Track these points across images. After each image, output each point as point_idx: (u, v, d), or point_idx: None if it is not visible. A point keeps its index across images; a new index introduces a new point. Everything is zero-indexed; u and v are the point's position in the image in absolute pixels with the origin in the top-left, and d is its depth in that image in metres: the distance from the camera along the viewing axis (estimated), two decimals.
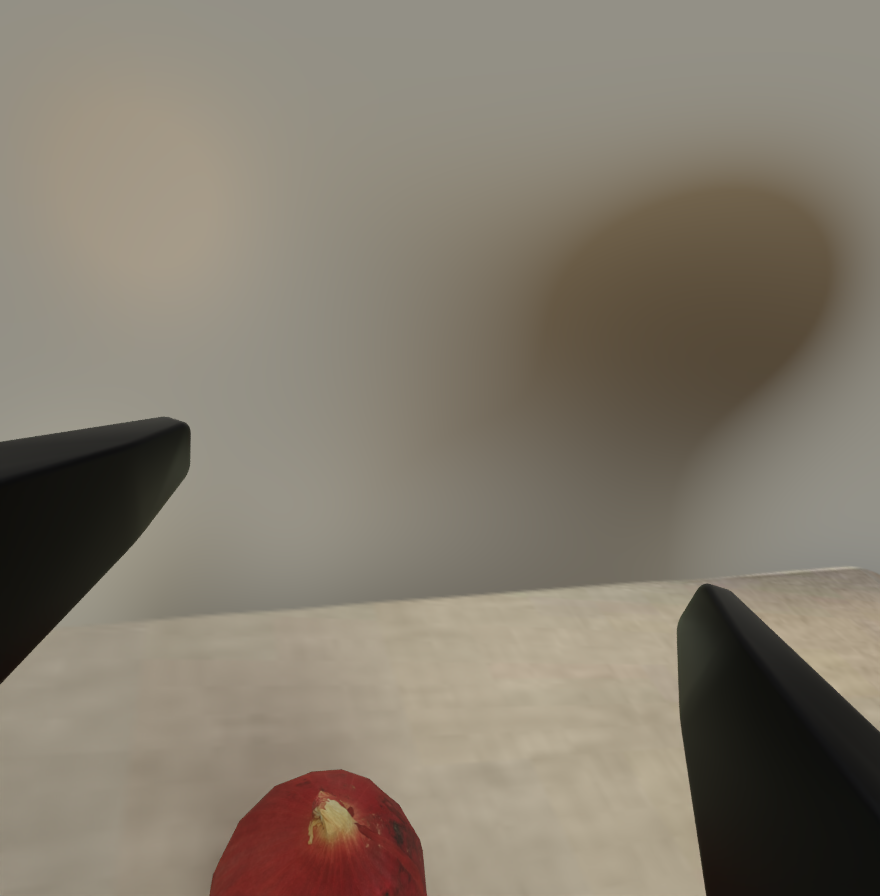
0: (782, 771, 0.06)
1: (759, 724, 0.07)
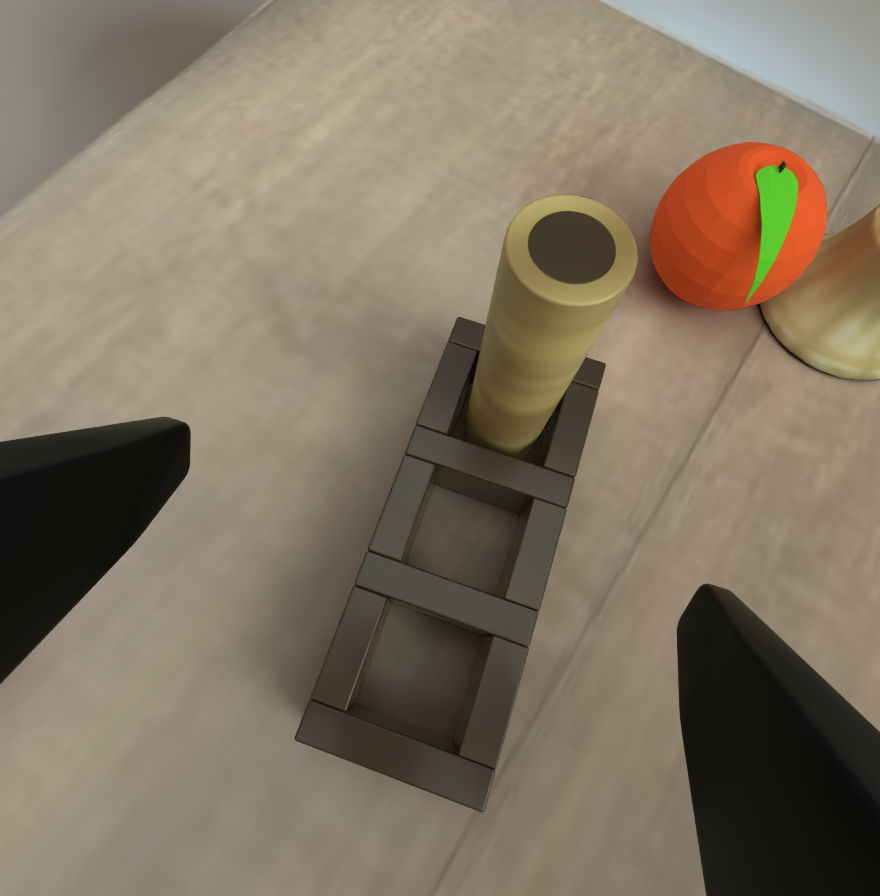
0: (781, 771, 0.06)
1: (759, 724, 0.07)
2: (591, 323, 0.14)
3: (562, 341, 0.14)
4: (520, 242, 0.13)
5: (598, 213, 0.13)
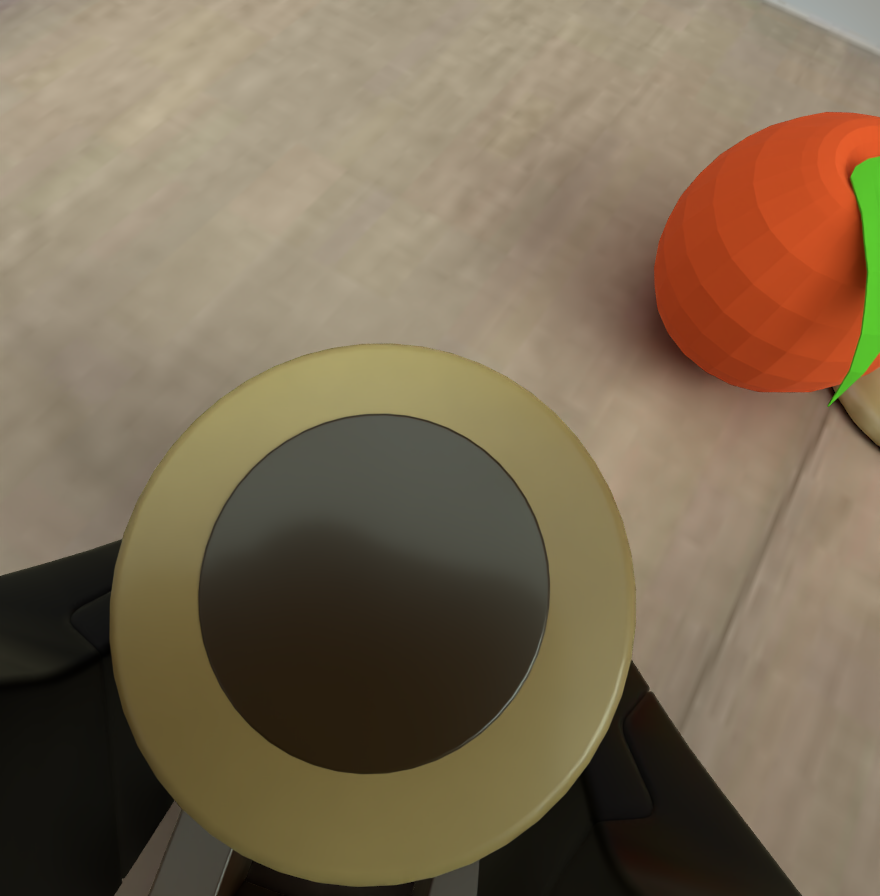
0: None
1: None
2: None
3: None
4: (171, 569, 0.03)
5: (487, 417, 0.04)
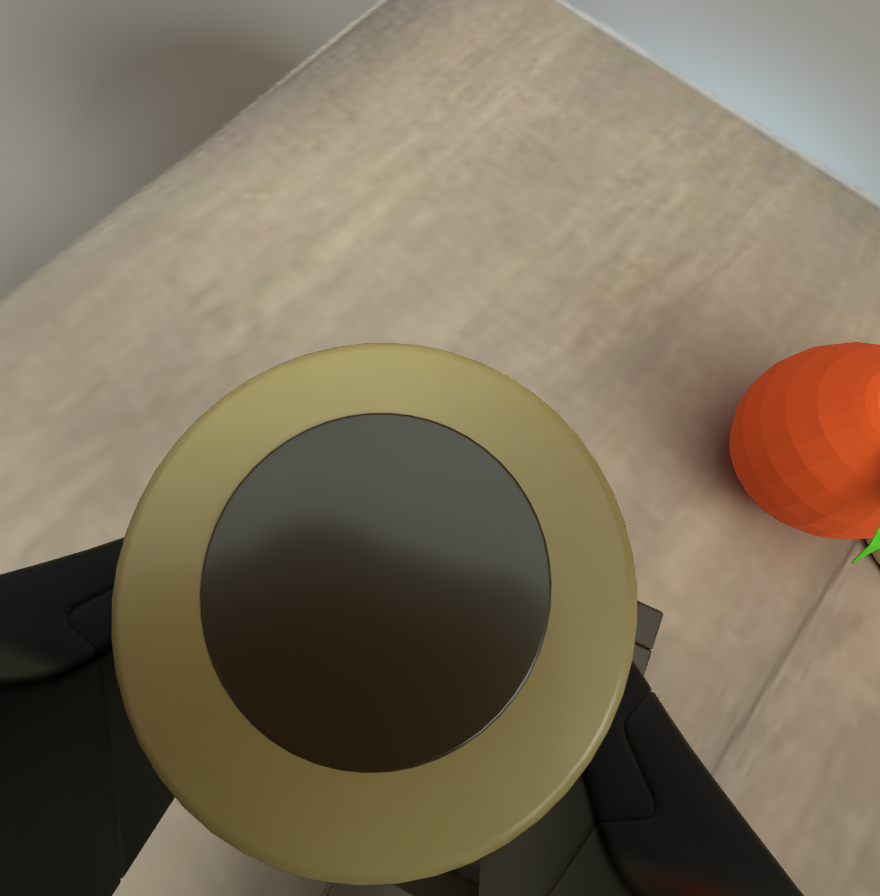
0: None
1: None
2: None
3: None
4: (173, 568, 0.03)
5: (490, 416, 0.04)
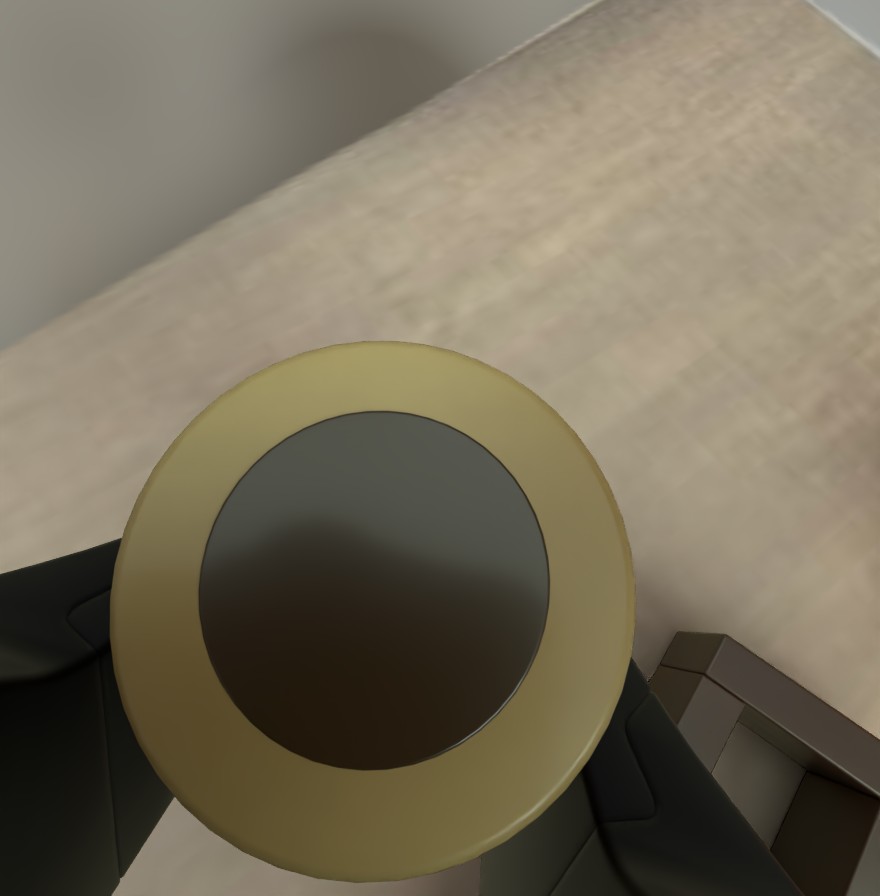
0: None
1: None
2: None
3: None
4: (171, 565, 0.03)
5: (487, 414, 0.04)
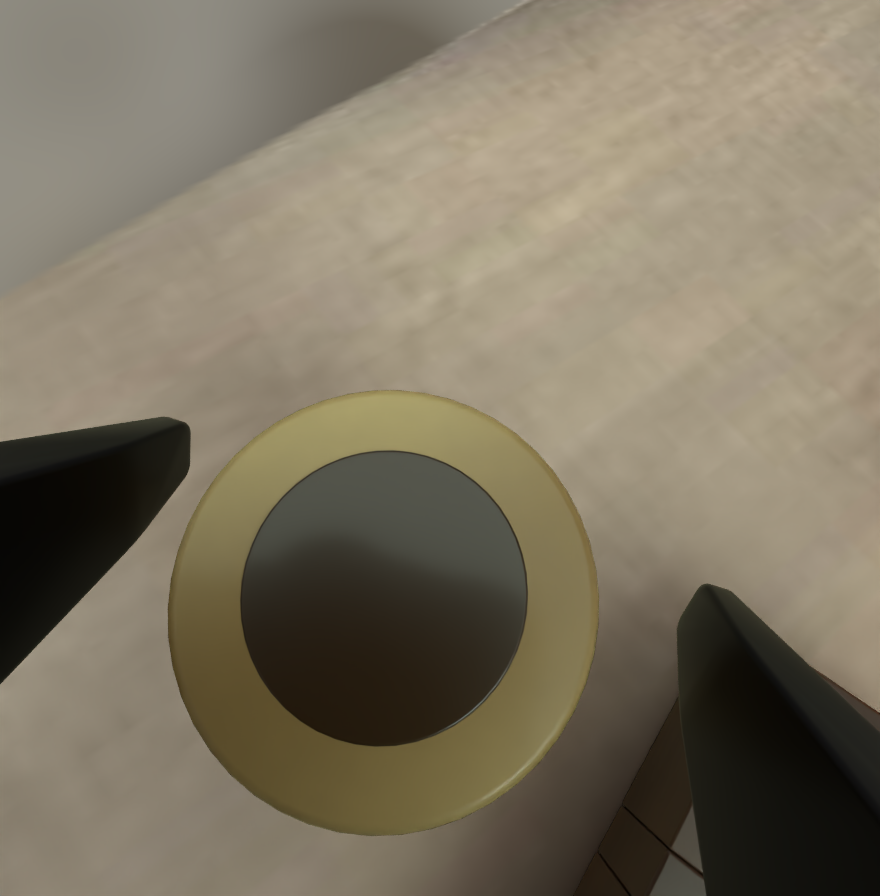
0: (782, 770, 0.06)
1: (759, 724, 0.07)
2: None
3: None
4: (217, 580, 0.04)
5: (478, 454, 0.04)
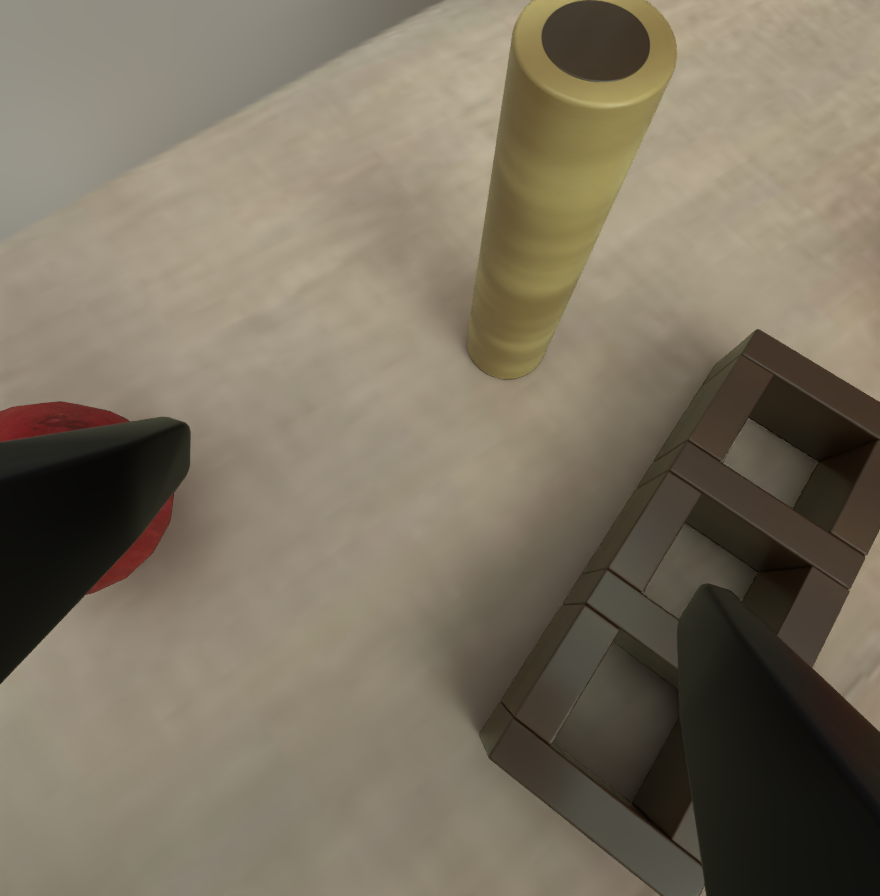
0: (782, 771, 0.06)
1: (759, 724, 0.07)
2: (619, 143, 0.11)
3: (584, 172, 0.12)
4: (532, 36, 0.11)
5: (627, 2, 0.11)
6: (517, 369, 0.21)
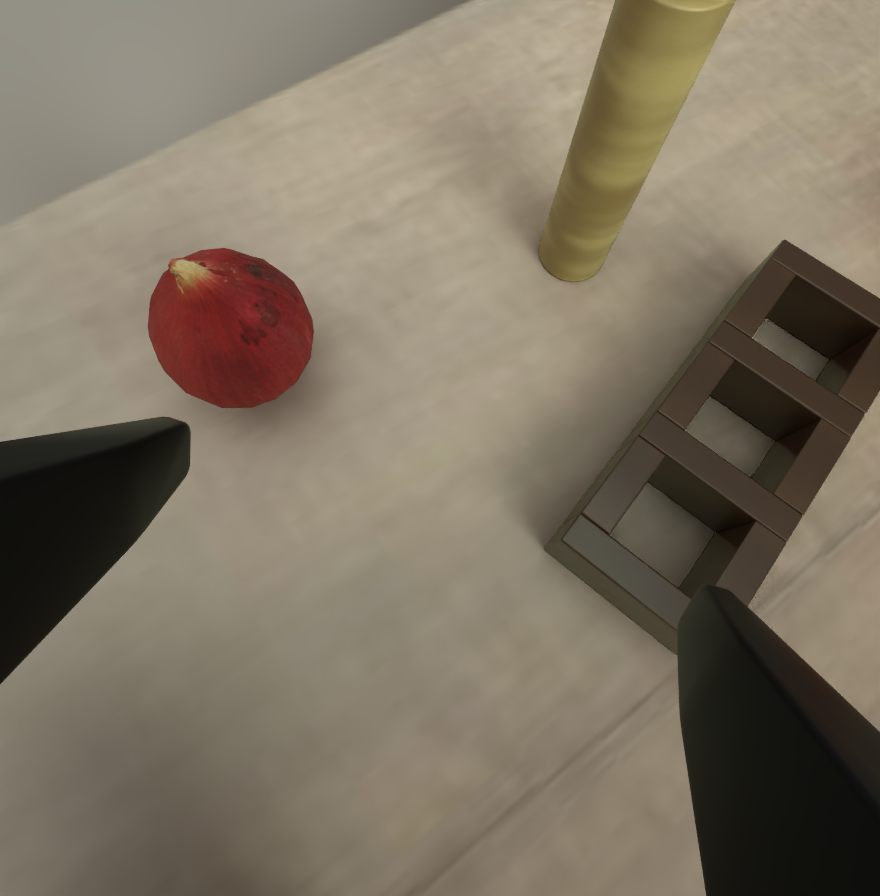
0: (782, 771, 0.06)
1: (759, 724, 0.07)
2: (698, 44, 0.16)
3: (669, 67, 0.16)
4: None
5: None
6: (582, 270, 0.26)
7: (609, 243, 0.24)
